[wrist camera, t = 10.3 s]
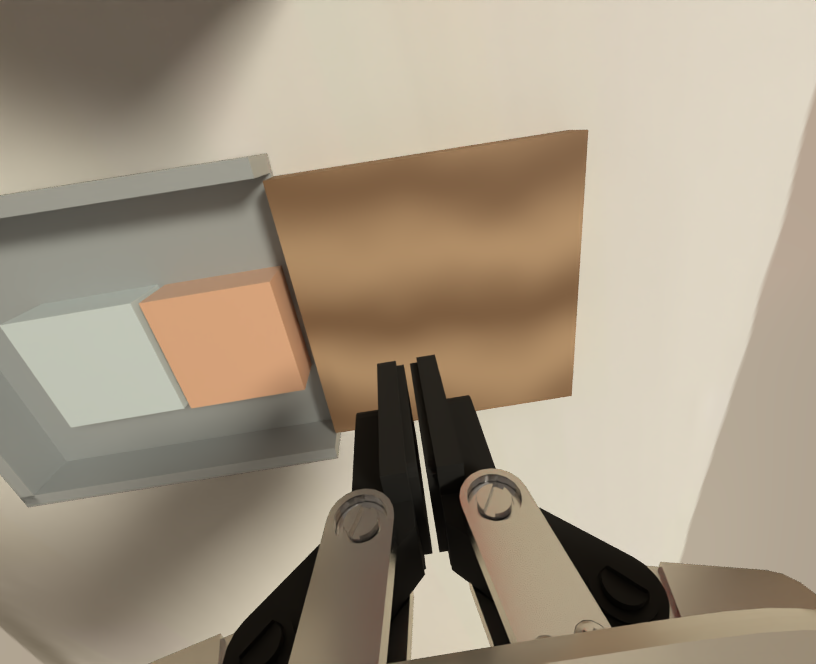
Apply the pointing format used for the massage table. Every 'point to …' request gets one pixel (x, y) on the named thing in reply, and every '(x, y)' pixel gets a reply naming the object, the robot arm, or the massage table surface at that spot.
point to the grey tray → (133, 268)
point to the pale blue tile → (97, 357)
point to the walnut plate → (440, 269)
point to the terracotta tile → (230, 336)
